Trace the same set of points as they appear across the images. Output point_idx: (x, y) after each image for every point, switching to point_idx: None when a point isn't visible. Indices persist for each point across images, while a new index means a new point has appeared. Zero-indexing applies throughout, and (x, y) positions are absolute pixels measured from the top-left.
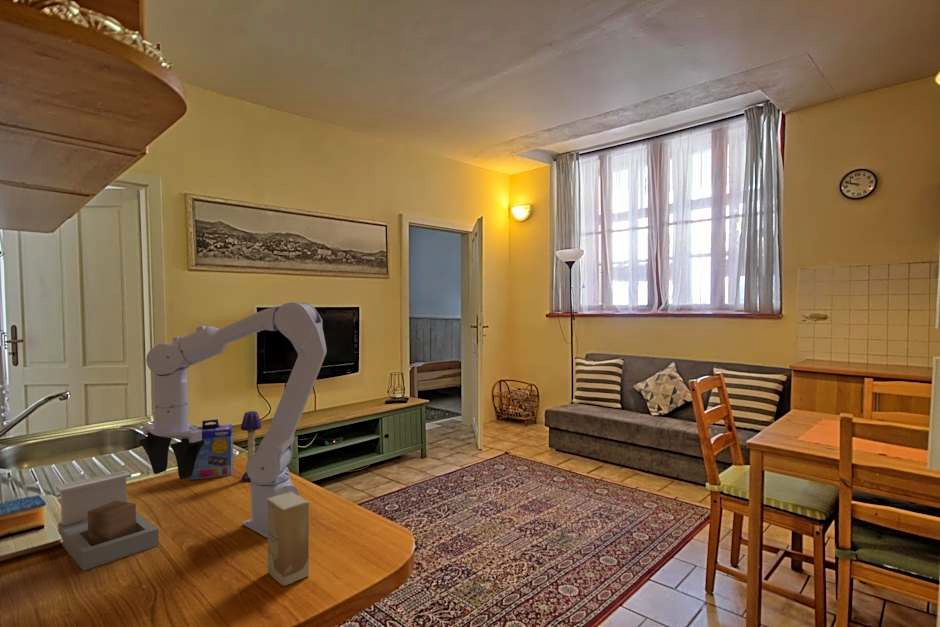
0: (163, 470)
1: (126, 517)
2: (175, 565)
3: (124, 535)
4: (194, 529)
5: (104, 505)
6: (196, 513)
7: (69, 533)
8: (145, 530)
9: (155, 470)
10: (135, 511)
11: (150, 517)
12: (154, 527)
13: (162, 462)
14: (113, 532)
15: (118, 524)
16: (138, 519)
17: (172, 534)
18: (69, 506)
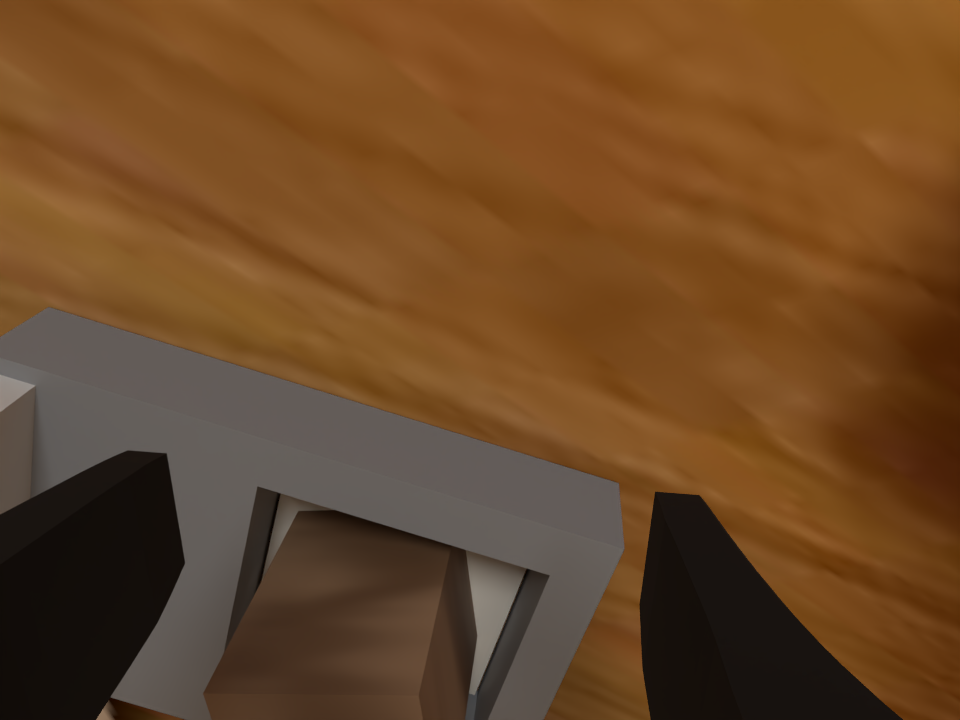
0: (166, 495)
1: (441, 689)
2: (927, 600)
3: (460, 617)
4: (643, 246)
5: None
6: (384, 13)
7: (179, 709)
8: (559, 582)
9: (163, 600)
10: (431, 650)
11: (132, 216)
12: (577, 542)
13: (103, 574)
14: (462, 708)
15: (451, 712)
16: (338, 491)
17: (559, 353)
18: None
